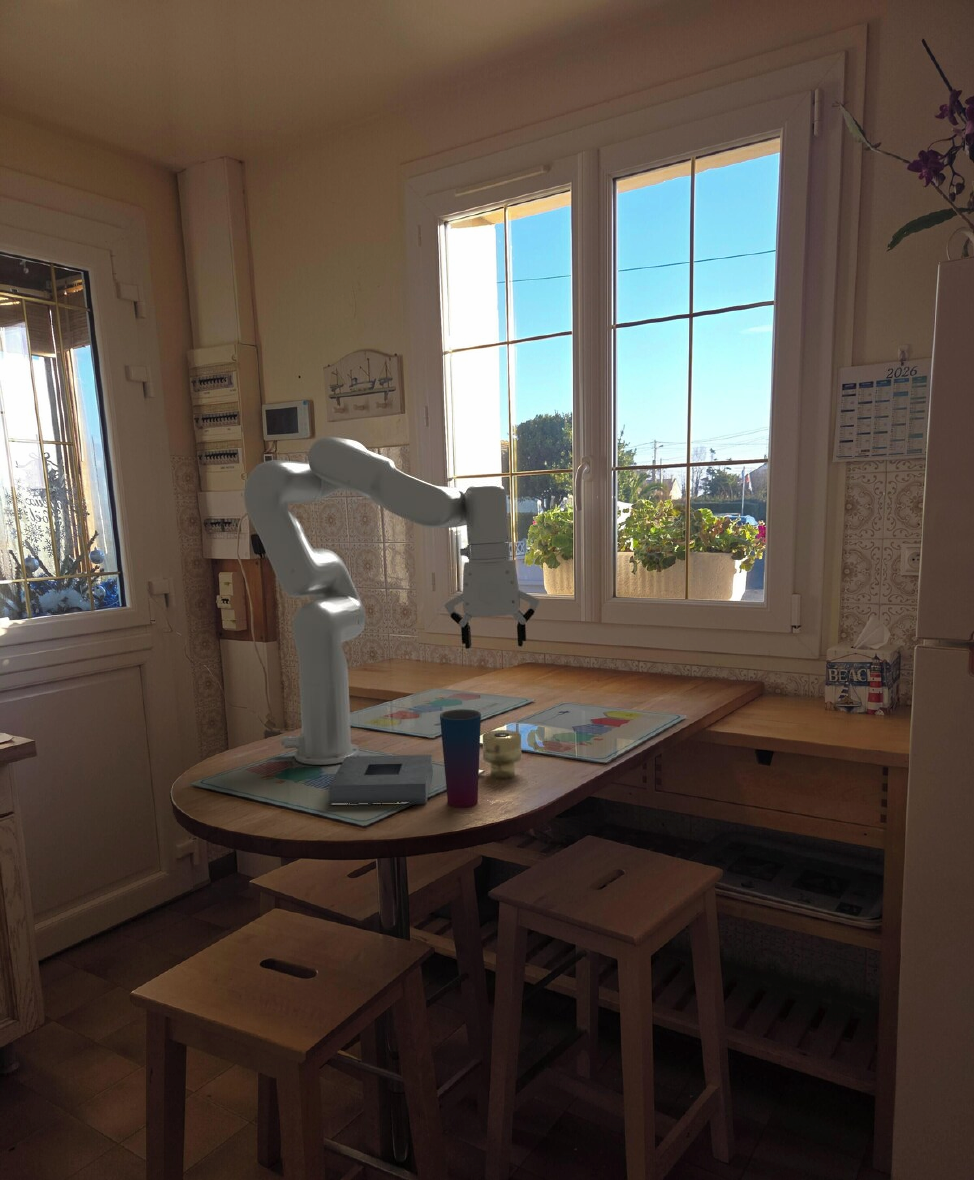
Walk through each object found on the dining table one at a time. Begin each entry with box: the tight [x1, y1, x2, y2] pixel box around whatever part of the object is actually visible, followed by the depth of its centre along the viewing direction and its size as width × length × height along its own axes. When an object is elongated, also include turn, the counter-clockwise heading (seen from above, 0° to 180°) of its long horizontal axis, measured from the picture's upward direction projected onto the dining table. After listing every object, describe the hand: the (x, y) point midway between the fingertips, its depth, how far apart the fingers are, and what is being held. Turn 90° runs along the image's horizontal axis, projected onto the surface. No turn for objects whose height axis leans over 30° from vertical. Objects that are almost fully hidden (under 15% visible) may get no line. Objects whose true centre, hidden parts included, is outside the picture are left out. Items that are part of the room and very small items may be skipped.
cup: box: [439, 708, 482, 809], centre depth 134 cm, size 7×7×15 cm
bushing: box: [482, 729, 522, 780], centre depth 148 cm, size 7×7×8 cm
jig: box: [328, 754, 434, 805], centre depth 143 cm, size 16×16×4 cm
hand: (494, 646), depth 148 cm, fingers open, 9 cm apart
